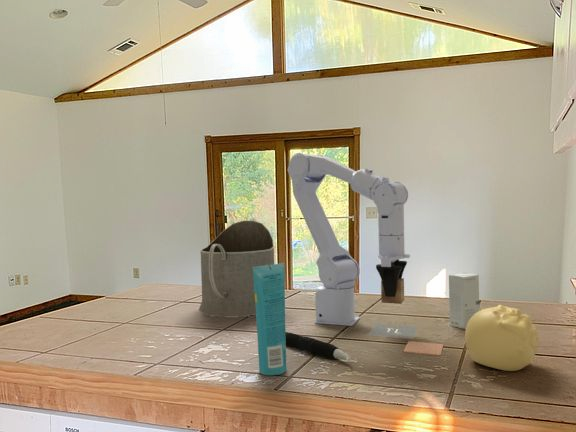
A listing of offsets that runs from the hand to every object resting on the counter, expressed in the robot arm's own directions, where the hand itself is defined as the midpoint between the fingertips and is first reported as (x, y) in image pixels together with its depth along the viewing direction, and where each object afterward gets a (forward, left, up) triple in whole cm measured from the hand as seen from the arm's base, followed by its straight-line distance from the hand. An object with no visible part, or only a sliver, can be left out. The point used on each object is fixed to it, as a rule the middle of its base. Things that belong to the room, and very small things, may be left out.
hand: (392, 294), depth 107 cm
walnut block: (0, 0, -2) cm, 2 cm away
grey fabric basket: (-46, +8, -9) cm, 48 cm away
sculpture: (+22, -16, -9) cm, 29 cm away
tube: (-16, -32, -9) cm, 37 cm away
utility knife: (-13, -20, -9) cm, 26 cm away
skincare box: (+15, +10, -9) cm, 20 cm away
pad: (+8, -11, -9) cm, 16 cm away
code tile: (0, 0, -9) cm, 9 cm away
